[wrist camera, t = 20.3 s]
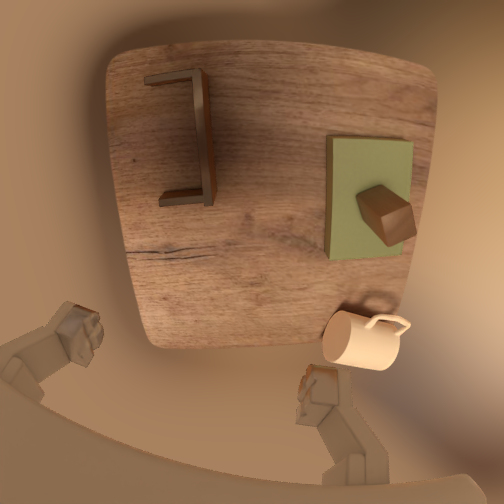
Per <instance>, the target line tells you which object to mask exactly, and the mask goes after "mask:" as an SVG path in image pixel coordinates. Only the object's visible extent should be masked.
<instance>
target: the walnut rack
mask: <svg viewBox="0 0 504 504" xmlns="http://www.w3.org/2000/svg"><path fill="white" fill-rule="evenodd" d="M187 80H192V86H193V99H194V111H195V122H196V133H197V144H198V154H199V164H200V173H201V182H202V189H195V190H185V191H175V192H166V193H163V195H162V196H161V197H160V198H159V199H158V200H159V206H160V207H164V206H174V205H184V204H195V203H204V206H213V204H214V201H215V197H216V194H217V181H216V171H215V160H214V149H213V138H212V126H211V114H210V101H209V88H208V75H207V73H205V72H204V71H203V70H202V69H201V68H198V69H188V70H181V71H174V72H168V73H162V74H157V75H152V76H147V77H144V85H148V86H156V85H162V84H168V83H174V82H180V81H187Z"/></svg>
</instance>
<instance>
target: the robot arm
mask: <svg viewBox="0 0 504 504" xmlns="http://www.w3.org/2000/svg"><path fill="white" fill-rule="evenodd" d="M99 320H100V316H99V313H98V312H96V311H93V310H90V309H87V308H85V307H82V306H80V305H77V304H75V303H72V302H69V301H66V302H64V303H63V304H62V306H61V307H60V308H59V309H58V311H57V312H56V313H55V315H54V316H53V317H52V318H51V320H50V321H49V322H48V324H47V325H46V326H45V327H43V326H42V327H40V328H37V329H35V330H33V331H31V332H29V333H27V334H25V335H23V336H21V337H19V338H16V339H14V340H12V341H10V342H8V343H6V344H4V345H2V346H0V504H487V500H486V496H485V494H484V493H483V491H482V490H481V489H480V487H479V486H478V485H477V484H476V483H475V482H474V480H473V479H472V478H471V477H470V476H469V475H466V474H458V475H453V476H448V477H442V478H436V479H430V480H422V481H415V482H406V483H396V484H389V460H388V452H387V451H386V449H385V448H384V446H383V445H382V443H381V442H380V441H379V439H378V438H377V436H376V435H375V434H374V432H373V431H372V429H371V428H370V427H369V425H368V424H367V422H366V421H365V420H364V418H363V417H362V415H361V414H360V412H359V411H358V410H357V408H353V405H352V387H351V372H350V370H349V369H341V368H335V367H328V366H321V365H313V364H310V365H309V366H308V368H307V369H306V375H304V376H303V377H302V379H301V382H300V385H299V391H298V400H299V402H300V404H299V406H298V408H297V413H296V424H299V425H307V426H314V427H317V429H318V431H319V433H320V435H321V437H322V439H323V441H324V443H325V445H326V446H327V449H328V451H329V453H330V454H331V456H332V458H333V460H334V462H335V464H336V465H334V466H333V467H332V468H330V469H329V470H327V471H326V472H325V473H323V477H322V485H312V484H298V483H288V482H278V481H270V480H262V479H256V478H249V477H243V476H238V475H232V474H227V473H222V472H218V471H213V470H208V469H204V468H200V467H196V466H192V465H189V464H185V463H181V462H178V461H174V460H171V459H168V458H164V457H161V456H158V455H154V454H152V453H149V452H146V451H143V450H140V449H137V448H134V447H132V446H129V445H127V444H124V443H121V442H119V441H116V440H114V439H112V438H109V437H107V436H104V435H102V434H100V433H97V432H95V431H93V430H91V429H89V428H86V427H84V426H82V425H80V424H78V423H76V422H74V421H72V420H70V419H68V418H66V417H64V416H62V415H60V414H58V413H56V412H55V411H53V410H51V409H49V408H47V407H45V406H44V405H42V404H40V402H41V400H42V398H43V396H44V391H43V390H42V389H41V387H40V386H39V384H38V383H40V382H41V381H43V380H44V379H46V378H47V377H49V376H50V375H52V374H53V373H55V372H56V371H58V370H59V369H61V368H62V367H64V366H65V365H67V364H68V363H70V361H71V362H74V363H76V364H79V365H81V366H84V367H88V365H89V363H90V362H91V360H92V358H93V356H94V352H93V350H95V349H97V348H99V346H100V344H101V342H102V340H103V336H104V329H103V326H102V325H101V324H100V323H99Z"/></svg>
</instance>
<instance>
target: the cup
mask: <svg viewBox="0 0 504 504" xmlns="http://www.w3.org/2000/svg"><path fill="white" fill-rule="evenodd" d="M378 319H382V320H391V321H397V322H399V323H401V324H403V325H405V326H404V327H402V328H401V329H399V330H397V328H396V327H395V326H394V325H392V324H389V323H386V322H382V321H379V320H378ZM410 324H411V323H410V322H409V321H407V320H405V319H403V318H401V317H400V316H395V315H387V314H379V315H374V316H373V317H372V318H368V317H364V316H361V315H357V314H353V313H350V312H346V311H338V312H336V313H335V314H334V315H333V316H332V317H331V319H330V320H329V322H328V324H327V326H326V329H325V331H324V335H323V340H322V351H323V355H324V358H325V359H326V360H327V361H329V362H333V363H339V364H344V365H349V366H355V367H361V368H367V369H373V370H384V369H386V368H388V367H389V366H390V365H391V364H392V363H393V362H394V360H395V358H396V356H397V354H398V351H399V346H400V335H401V334H402V333H403V332H404V331H406V330H407V329H408V328H409V327H410Z"/></svg>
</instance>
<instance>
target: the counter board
mask: <svg viewBox="0 0 504 504" xmlns="http://www.w3.org/2000/svg"><path fill="white" fill-rule="evenodd" d="M326 142H327V183H326V224H325V248H324V251H325V253H326V255H327V257H328V259H329V261H333V260H346V259H359V258H371V257H384V256H396V255H402V249H403V243H404V241H402V242H400V243H398V244H396V245H394V246H391V247H387V246H386V245H385V244H384V243H383V241H382V240H381V239H380V238H379V237H378V236H377V235H376V234H375V233H374V232H373V231H372V229H371V228H370V227H369V226H368V225H367V224H366V223H365V222H364V221H363V218H362V215H361V212H360V209H359V205H358V202H357V199H356V195H357V194H360V193H362V192H364V191H367V190H369V189H372V188H374V187H377V186H379V185H383V186H385V187H386V188H388V189H389V190H391V191H392V192H394V193H395V194H397V195H398V196H400V197H401V198H403V199H404V200H406V201H407V202H409V197H410V187H411V175H412V161H413V142H411V141H408V140H405V139H397V138H381V137H360V136H326Z"/></svg>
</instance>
